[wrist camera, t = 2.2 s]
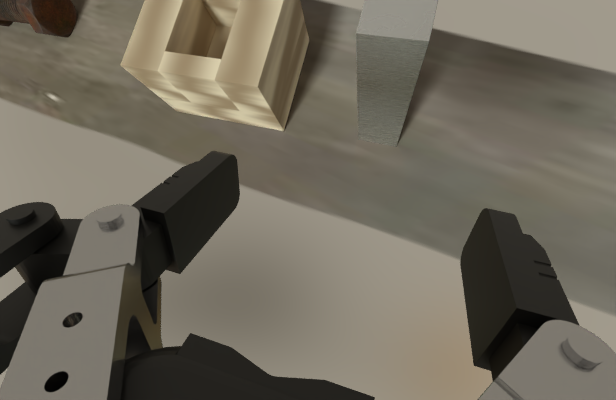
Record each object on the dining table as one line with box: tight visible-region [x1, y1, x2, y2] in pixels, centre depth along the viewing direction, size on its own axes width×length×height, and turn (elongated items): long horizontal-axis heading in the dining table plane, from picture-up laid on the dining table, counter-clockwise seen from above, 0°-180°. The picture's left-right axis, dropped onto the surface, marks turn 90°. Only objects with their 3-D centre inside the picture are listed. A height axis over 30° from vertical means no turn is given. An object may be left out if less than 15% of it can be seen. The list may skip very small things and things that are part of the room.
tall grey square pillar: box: [356, 0, 438, 146], centre depth 22 cm, size 4×5×14 cm
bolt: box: [0, 0, 77, 37], centre depth 37 cm, size 6×5×15 cm
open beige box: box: [121, 0, 309, 131], centre depth 28 cm, size 12×10×8 cm
